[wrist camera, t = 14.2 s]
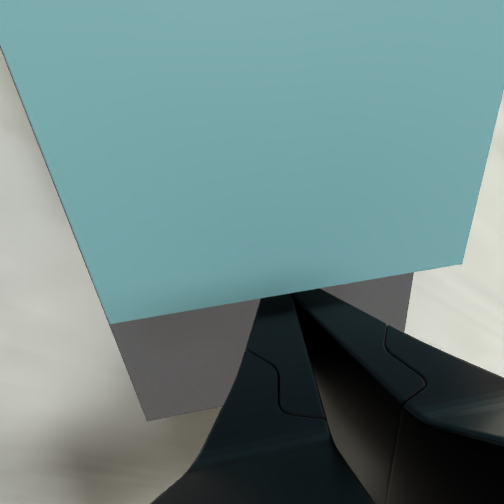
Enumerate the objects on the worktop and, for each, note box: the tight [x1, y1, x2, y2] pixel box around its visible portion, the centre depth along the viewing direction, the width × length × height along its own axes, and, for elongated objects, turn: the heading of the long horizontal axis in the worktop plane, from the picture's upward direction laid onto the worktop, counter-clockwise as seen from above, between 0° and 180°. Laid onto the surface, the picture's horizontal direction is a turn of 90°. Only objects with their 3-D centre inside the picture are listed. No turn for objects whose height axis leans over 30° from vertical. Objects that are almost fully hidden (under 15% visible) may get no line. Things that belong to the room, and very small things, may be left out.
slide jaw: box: [0, 0, 504, 324], centre depth 7 cm, size 8×8×4 cm
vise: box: [0, 46, 414, 421], centre depth 8 cm, size 26×12×3 cm, turn 6°
